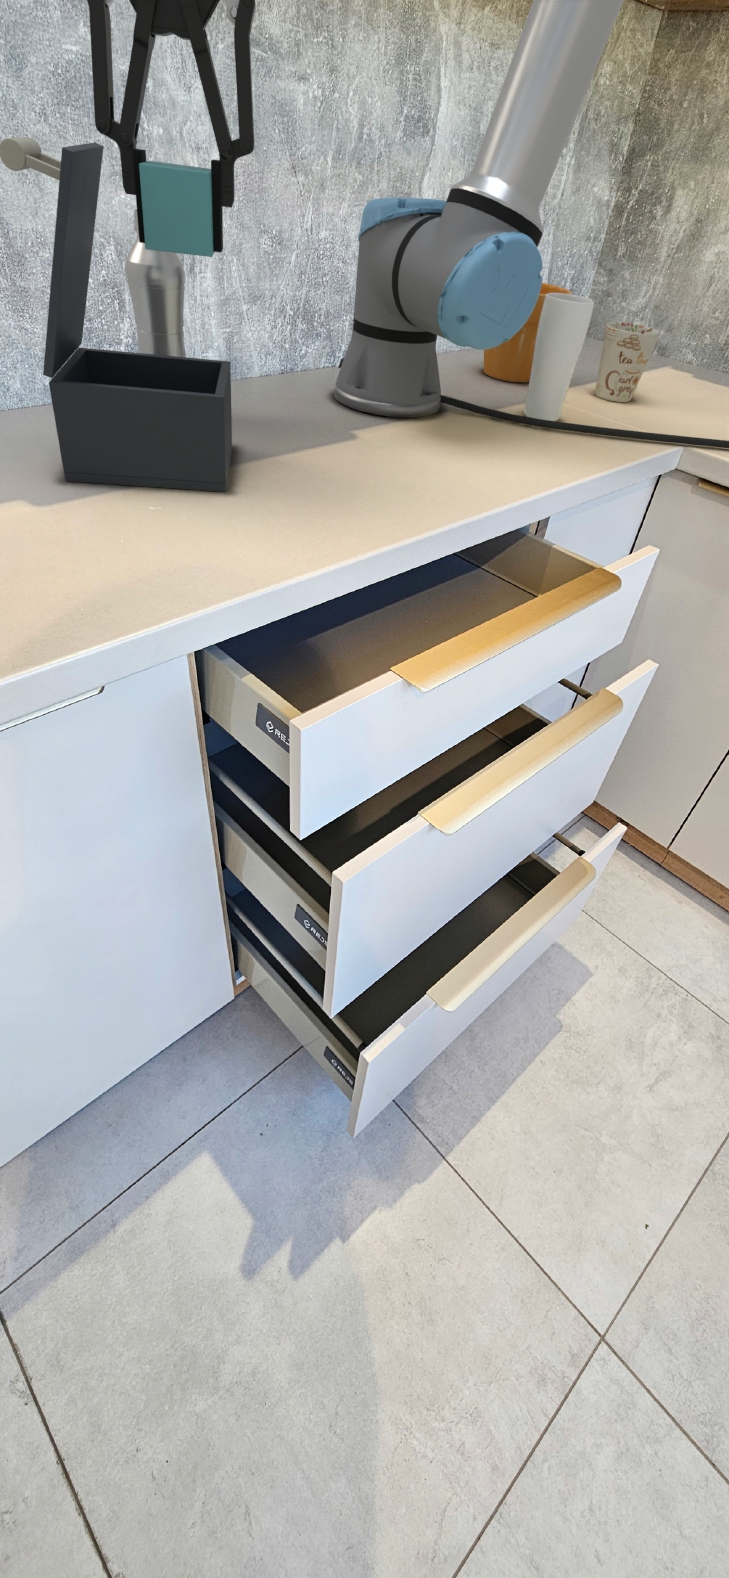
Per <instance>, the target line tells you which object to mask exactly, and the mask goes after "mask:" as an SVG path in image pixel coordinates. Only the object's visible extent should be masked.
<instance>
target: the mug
mask: <svg viewBox="0 0 729 1578" xmlns="http://www.w3.org/2000/svg"><path fill="white" fill-rule="evenodd" d="M659 337H660V331H659V330H658V329H656V328H652V327H650V326H646V325H640V324H637V323H630V322H622V321H609V322H607V323H606V326H605V329H604V337H603V341H602V347H601V353H600V359H599V367H598V370H597V371H598V372H597V378H596V383H595V390H594V394H595V396H596V397H598V398H600V399H603V400H607V401H610V402H618V403H628V402H631V400H632V398H633V396H634V394H635V392H636V389H637V387H638V385H639V382H640V380H641V378H642V376H643V374H644V371H645V369H646V367H647V364H648V362H649V360H650V357H651V355H652V353H653V350H654V348H655V346H656V343H657V342H658V339H659Z"/></svg>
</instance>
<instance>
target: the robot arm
mask: <svg viewBox="0 0 729 1578" xmlns="http://www.w3.org/2000/svg"><path fill="white" fill-rule="evenodd" d="M128 1H129V3H130V5H131V6H132V9H133V10H134V12H135V21H134V26H133V34H132V46H131V53H130V59H129V64H128V69H127V70H128V71H127V75H126V78H127V79H126V83H125V89H124V95H123V102H122V107H121V114H120V120H119V122H118V121H116V120H115V100H114V99H115V97H114V96H115V95H114V74H113V73H114V72H113V49H112V48H113V45H112V21H111V12H110V8H109V7H110V6H109V5H112V3H113V2H114V0H86V2H87V5H88V13H89V28H90V29H89V31H90V34H89V35H90V51H91V52H90V53H91V54H90V55H91V70H92V71H91V73H92V90H93V91H92V92H93V110H94V124H95V128H96V131H97V132H98V133H99V134H101V135H104V136H105V137H107V138H109V139H111V140H112V141H113V142H114V143H116V144H117V146H118V148H119V155H120V157H119V158H120V166H121V167H120V168H121V179H122V180H121V181H122V188H123V190H124V192H125V195H131V196H135V202H136V209H137V217H138V230H139V242H140V243H145V237H144V223H143V210H142V197H141V184H140V171H139V164H140V163H143V162H146V161H147V151H146V149H141V148H137V144H138V135H139V130H140V124H141V117H142V112H143V106H144V101H145V95H146V89H147V83H148V78H149V72H150V66H151V60H152V55H153V51H154V48H155V43H156V37H157V36H158V37H168V36H173V35H174V36H176V37H178V38H179V39H182V40H185V41H189V42H190V45H191V49H192V53H193V56H194V59H195V63H196V67H197V71H198V75H199V79H200V83H201V87H202V91H203V95H204V99H205V103H206V107H207V110H208V111H207V112H208V115H209V119H210V123H211V127H212V131H213V135H214V139H215V141H216V142H215V143H216V146H217V151H218V157H219V159H214V158H213V159H211V160H210V169H211V176H212V216H213V252H214V253H222V252H223V250H224V223H223V220H224V219H223V208H224V207H225V208H232V207H234V206H233V205H234V202H235V164H236V161H237V160H238V159H239V158H242V157H245V156H248V155H250V154H252V153H253V152H254V150H255V127H254V125H255V123H254V102H253V100H254V99H253V80H252V78H253V77H252V56H251V55H252V54H251V33H252V27H253V23H254V19H255V14H256V9H257V3H256V0H223V1H224V2H225V5H226V15H227V19H228V21H229V22H230V23H231V24H232V25H233V26H234V28H233V29H234V30H233V43H234V44H233V45H234V47H233V48H234V62H235V63H234V64H235V66H234V67H235V84H236V99H237V101H236V102H237V118H238V119H237V120H238V135H239V137H238V138H235V139H233V140H232V136H231V131H230V128H229V123H228V119H227V115H226V111H225V106H224V102H223V99H222V94H221V90H220V86H219V82H218V77H217V74H216V70H215V65H214V61H213V57H212V52H211V47H210V43H209V39H208V34H207V31H206V27H207V26H208V24H209V21H210V20H211V18H212V17H213V14H214V12H215V11H216V8H217V7H218V5H219V3H220V1H221V0H128ZM624 1H625V0H532V3H531V6H530V8H529V11H528V14H527V17H526V20H525V22H524V25H523V28H522V31H521V33H520V35H519V36H520V37H519V38H518V43H517V45H516V48H515V50H514V53H513V55H512V57H511V61H510V63H509V66H508V69H507V72H506V75H505V78H504V80H503V83H502V86H501V89H500V91H499V94H498V97H497V99H496V102H495V105H494V108H493V111H492V113H491V115H490V116H491V117H490V119H489V122H488V124H487V128H486V130H485V133H484V135H483V138H482V141H481V144H480V147H479V149H478V153H477V154H476V157H475V160H474V163H473V166H472V168H471V171H470V174H469V175H467V177H465V178H463V179H461V180H460V181H458V182H456V183H454V184H453V185H451V187H450V190H449V193H448V195H447V198H446V200H445V199H436V198H423V197H421V198H420V197H419V198H417V197H380V198H374V199H371V200H369V201H368V202H367V203H366V205H365V206H364V208H363V210H362V215H361V219H360V220H361V222H360V228H359V233H358V236H357V237H358V238H357V239H358V255H357V267H356V281H355V292H354V293H355V294H354V296H355V297H354V306H353V320H352V321H353V324H352V333H351V339H350V340H349V343H348V346H347V349H346V352H345V355H344V357H343V358H341V359H340V361H339V364H338V367H337V369H338V370H339V371H338V374H337V376H336V380H335V384H334V385H335V386H334V387H335V388H334V397H335V399H336V400H337V401H338V402H339V403H340V404H342V405H344V406H346V407H349V408H351V409H354V410H357V411H360V412H363V413H367V414H372V415H378V416H385V417H393V418H420V417H427V416H431V415H433V414H435V413H437V412H438V411H439V410H440V407H441V404H443V405H447V406H451V407H454V408H459V409H462V410H465V411H468V412H470V413H474V414H478V415H481V416H485V417H490V418H493V419H497V420H501V421H506V422H511V423H516V424H520V425H526V426H531V427H537V428H544V429H550V430H557V431H558V430H559V431H564V432H565V431H566V432H567V431H568V432H575V433H584V434H590V435H599V436H607V437H614V438H615V437H616V438H623V439H624V438H625V439H633V440H634V439H635V440H643V441H653V442H663V443H672V444H682V445H689V446H690V445H691V446H700V447H710V448H722V449H729V440H727V439H716V438H715V439H714V438H707V437H706V438H705V437H695V436H685V435H675V434H666V433H658V432H657V433H656V432H646V431H638V430H630V429H629V430H628V429H621V428H611V427H603V426H595V425H587V424H580V423H571V422H563V421H557V420H556V421H549V420H542V419H536V418H530V417H527V416H526V415H525V416H524V415H520V414H515V413H511V412H504V411H500V410H497V409H492V408H488V407H485V406H480V405H477V404H474V403H471V402H468V401H464V400H461V399H457V398H454V397H451V396H447V395H443V394H442V387H441V379H440V372H439V364H438V355H437V340H438V339H437V338H438V337H439V338H442V339H446V340H447V341H449V342H450V343H452V344H453V345H456V346H458V347H464V348H466V347H467V348H470V349H474V350H480V351H481V350H483V351H484V350H486V349H491V348H495V347H497V346H499V345H500V344H502V343H503V342H506V341H508V340H509V339H511V338H512V337H513V336H514V335H515V334H516V333H517V332H518V331H519V330H520V329H521V328H522V327H523V325H524V324H525V323H526V321H527V320H528V318H529V317H530V315H531V313H532V311H533V309H534V307H535V305H536V303H537V300H538V297H539V294H540V290H541V286H542V283H543V276H541V272H542V271H543V268H544V267H543V258H542V256H541V252H540V250H539V248H538V247H539V244H540V242H541V239H542V237H543V234H544V226H543V222H542V219H541V215H540V207H541V205H542V202H543V200H544V198H545V195H546V192H547V191H548V188H549V185H550V183H551V180H552V177H553V175H554V172H555V170H556V168H557V166H558V164H559V160H560V158H561V155H562V153H563V151H564V148H565V146H566V143H567V141H568V139H569V135H570V134H571V132H572V130H573V126H574V124H575V121H576V119H577V117H578V114H579V112H580V109H581V107H582V104H583V102H584V100H585V97H586V94H587V92H588V89H589V87H590V85H591V82H592V81H593V77H594V74H595V72H596V69H597V68H598V66H599V62H600V60H601V57H602V55H603V53H604V50H605V48H606V45H607V43H608V40H609V38H610V35H611V32H612V30H613V28H614V25H615V23H616V21H617V18H618V16H619V14H620V11H621V8H622V6H623V3H624Z"/></svg>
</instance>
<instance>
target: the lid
mask: <svg viewBox="0 0 729 1578" xmlns="http://www.w3.org/2000/svg"><path fill="white" fill-rule="evenodd" d="M103 154H104V146H103V145H101V143H97V142H89V143H83V144H81V143H80V144H74V145H68V146H62V147H61V155H60V157H61V158H60V159H57V158H56V157H53V156H51V155H49V154H46V153H43V151H42V148H41V146H40V144H39V143H38V142H37V141H36V140H35V139H34V138H32V137H30V136H19V137H7V138H3V139H2V140H1V141H0V160H1V162H2V163H3V165H4V166H5V167H6V168H8V169H9V170H11V171H14V172H20V171H24V170H28V169H31V170H34V171H36V172H39V173H41V174H43V175H46V176H48V177H51V178H53V179H55V180H57V181H58V192H57V204H56V205H57V206H56V214H55V215H56V216H55V227H54V239H53V251H52V252H53V253H52V263H51V264H52V265H51V274H50V286H49V287H50V288H49V302H48V311H47V312H48V313H47V323H46V334H45V335H46V336H45V348H44V359H43V371H42V375H43V376H45V377H47V378H50V379H52V378H53V377H54V376H55V375H56V373H57V372H58V371H59V370H60V369H61V368H62V366H63V365H64V364H65V363H66V362H67V360H68V359H69V358H70V357H71V356H72V355H73V353H74V352H75V351H76V350H77V349H78V348H80V346H81V345H82V344H83V336H84V325H85V317H86V316H85V315H86V307H87V298H88V290H89V280H90V273H91V272H90V271H91V265H92V264H91V263H92V254H93V245H94V236H95V235H94V234H95V227H96V218H97V210H98V209H97V208H98V200H99V192H100V182H101V172H102V163H103Z"/></svg>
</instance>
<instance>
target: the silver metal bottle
mask: <svg viewBox="0 0 729 1578" xmlns="http://www.w3.org/2000/svg"><path fill="white" fill-rule="evenodd" d="M133 222H134V225H133V231H134V232H136V239H135V241H134V243H133V244H132V245H131V248H130V250H129V252H128V254H127V256H126V260H125V264H124V270H125V277H126V279H127V286H128V290H129V295H130V299H131V304H132V308H133V316H134V322H135V325H136V326H135V329H136V336H137V339H136V340H137V353H144V354H155V355H166V356H176V357H187V353H186V346H185V345H186V344H185V331H184V326H185V325H184V308H185V307H184V305H185V291H186V289H185V288H186V286H185V284H186V272H185V270H184V265H183V262H182V260H181V259H180V257H179V255H178V253H173V252H165V251H157V250H148V249H146V248H145V243H140V242H139V230H138V217H137V208H136V209H135V208H134V209H133Z"/></svg>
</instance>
